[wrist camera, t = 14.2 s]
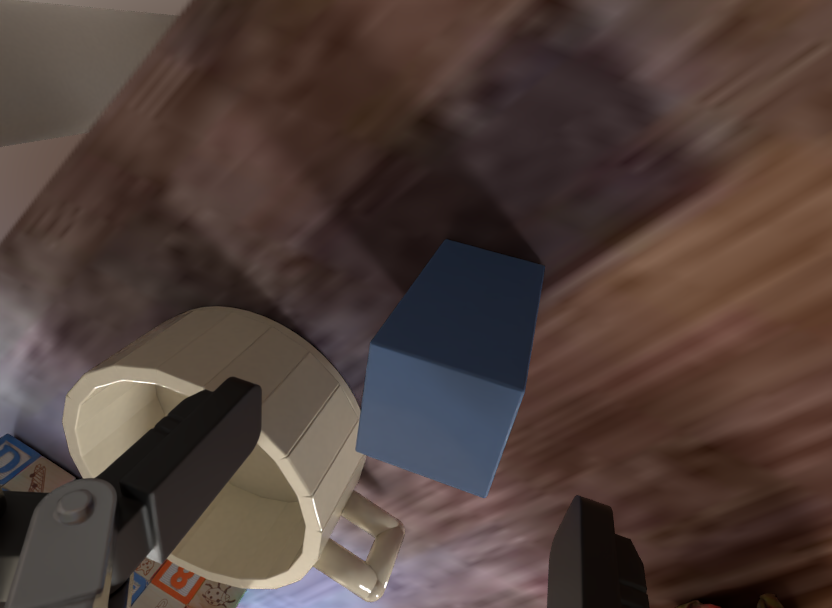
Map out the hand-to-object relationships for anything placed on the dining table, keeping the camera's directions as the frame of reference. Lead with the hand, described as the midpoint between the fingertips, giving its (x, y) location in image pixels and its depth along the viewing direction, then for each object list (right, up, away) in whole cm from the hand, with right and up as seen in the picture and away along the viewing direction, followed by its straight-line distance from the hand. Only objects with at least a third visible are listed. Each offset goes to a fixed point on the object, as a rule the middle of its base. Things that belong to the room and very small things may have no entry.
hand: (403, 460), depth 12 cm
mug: (-7, -3, +15) cm, 17 cm away
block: (+3, +4, +8) cm, 9 cm away
